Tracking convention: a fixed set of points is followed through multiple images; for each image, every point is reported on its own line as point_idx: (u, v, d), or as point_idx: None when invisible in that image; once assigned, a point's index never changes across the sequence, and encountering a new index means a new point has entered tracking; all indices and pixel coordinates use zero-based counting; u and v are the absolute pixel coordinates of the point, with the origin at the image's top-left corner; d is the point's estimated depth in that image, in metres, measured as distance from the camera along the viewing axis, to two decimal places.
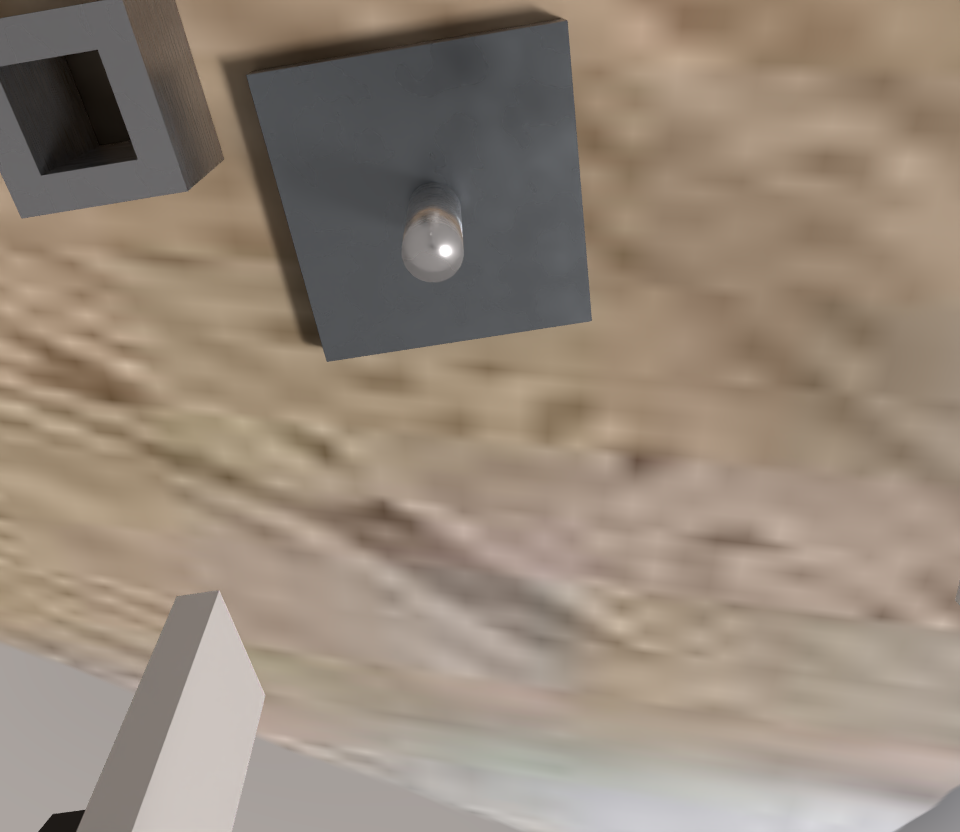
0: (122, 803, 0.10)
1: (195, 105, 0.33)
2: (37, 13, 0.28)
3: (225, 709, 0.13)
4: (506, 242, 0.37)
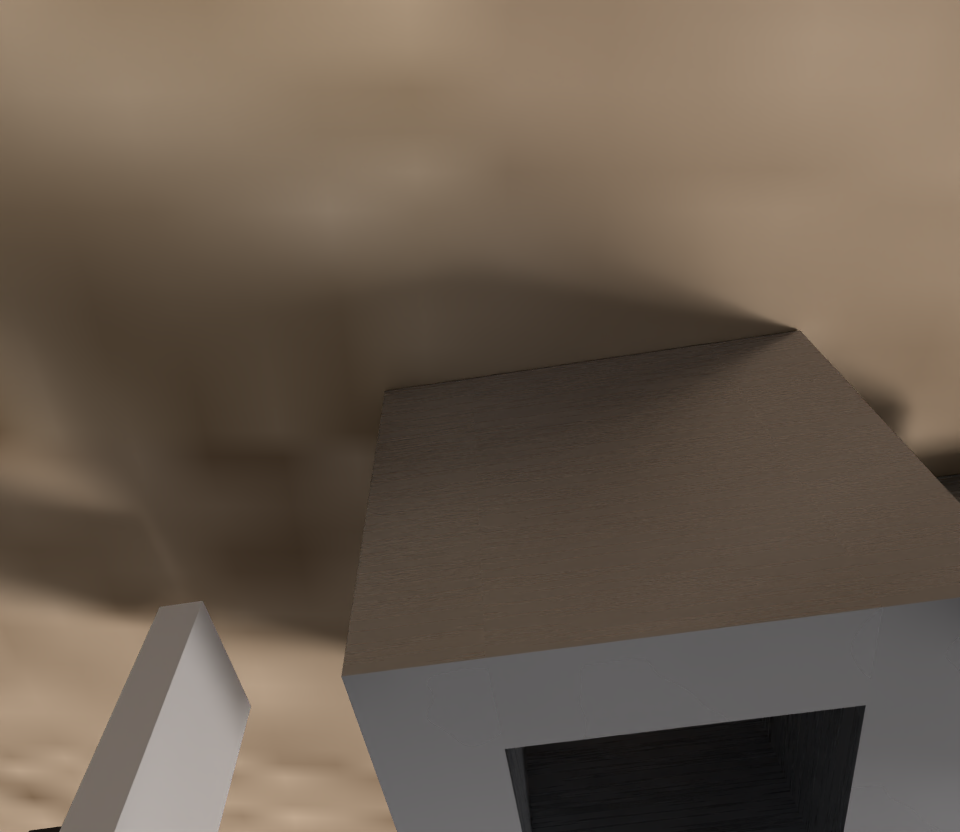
0: (98, 821, 0.10)
1: None
2: (716, 632, 0.08)
3: (208, 721, 0.12)
4: None
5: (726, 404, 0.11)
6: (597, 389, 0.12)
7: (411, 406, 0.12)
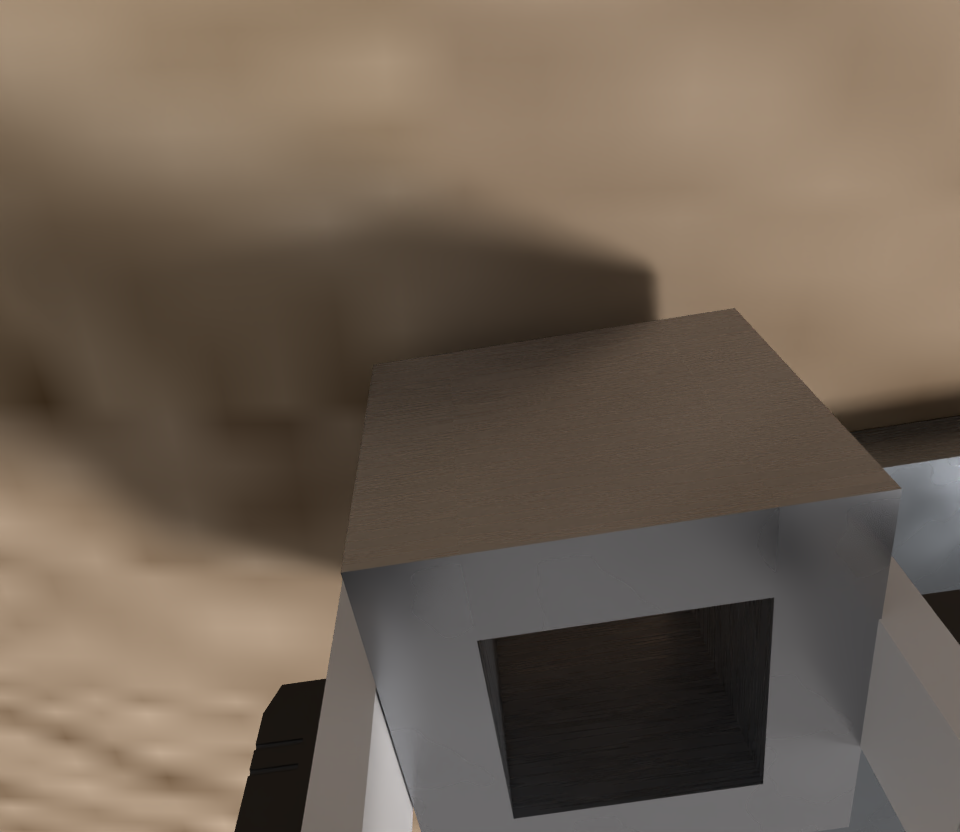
0: (360, 666, 0.11)
1: None
2: (646, 530, 0.09)
3: None
4: None
5: (667, 366, 0.13)
6: (558, 358, 0.14)
7: (397, 375, 0.14)
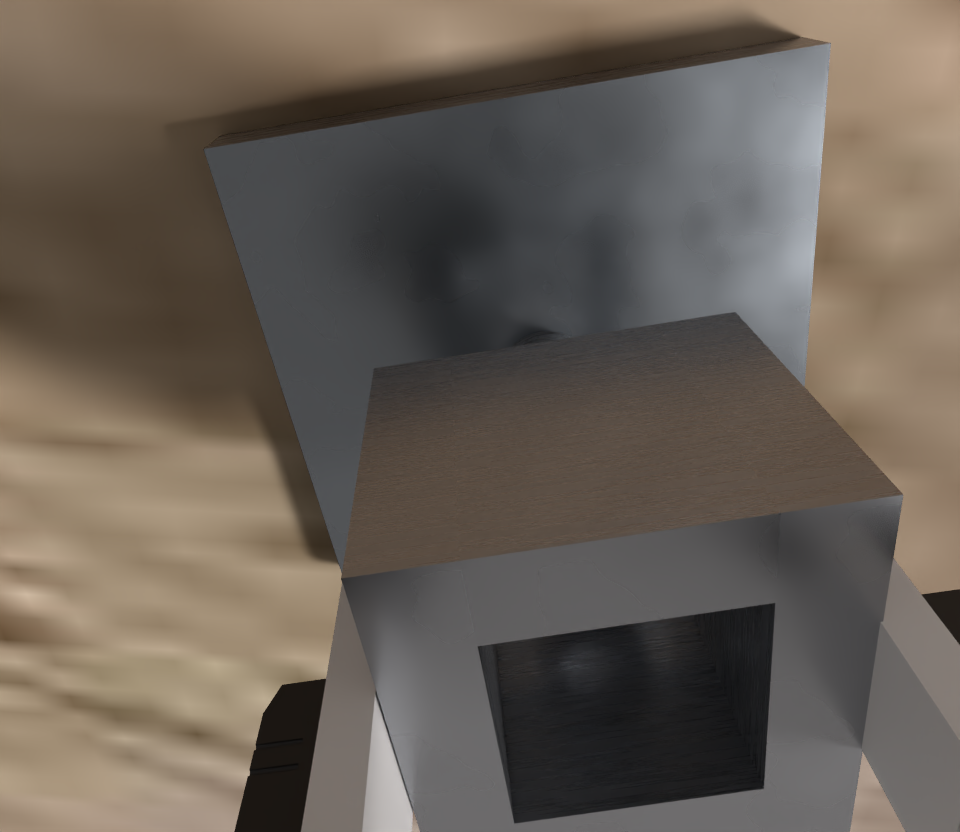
0: (359, 666, 0.11)
1: None
2: (647, 536, 0.09)
3: None
4: None
5: (668, 370, 0.13)
6: (559, 361, 0.14)
7: (398, 379, 0.14)
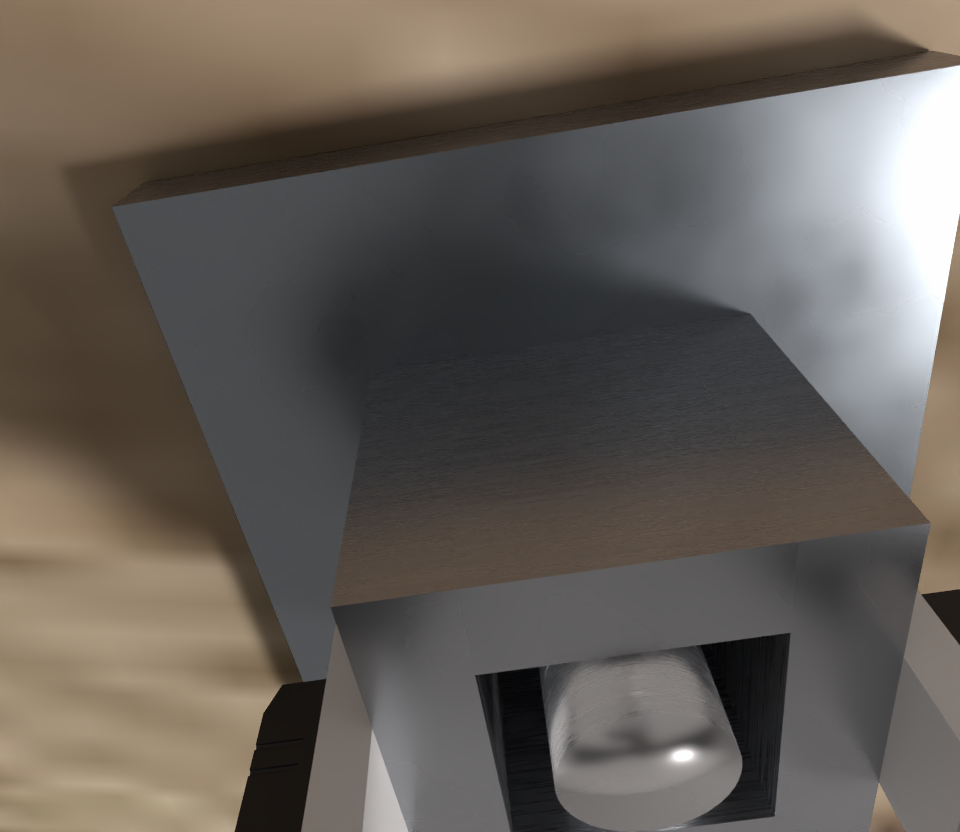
0: None
1: None
2: (655, 565, 0.09)
3: None
4: None
5: (678, 378, 0.12)
6: (564, 367, 0.13)
7: (395, 383, 0.14)
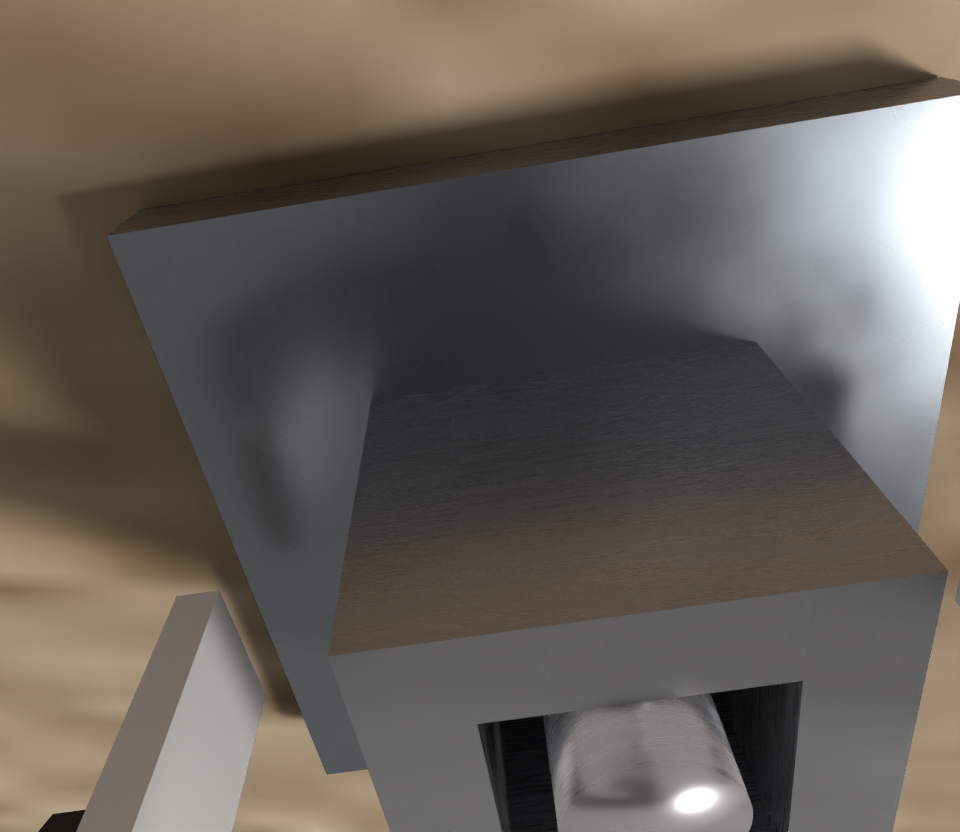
0: (122, 803, 0.10)
1: None
2: (663, 613, 0.09)
3: (225, 709, 0.13)
4: None
5: (685, 410, 0.12)
6: (568, 397, 0.13)
7: (395, 414, 0.13)
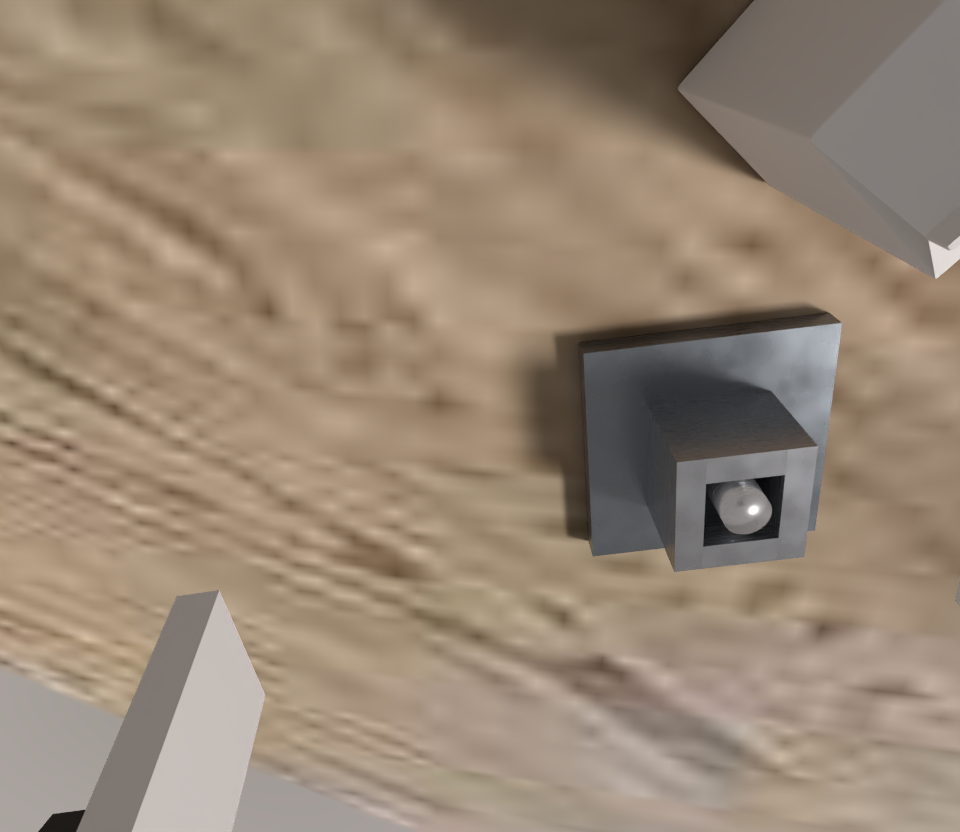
0: (122, 803, 0.10)
1: None
2: (754, 454, 0.38)
3: (225, 709, 0.13)
4: None
5: (751, 411, 0.41)
6: (714, 406, 0.42)
7: (659, 410, 0.42)
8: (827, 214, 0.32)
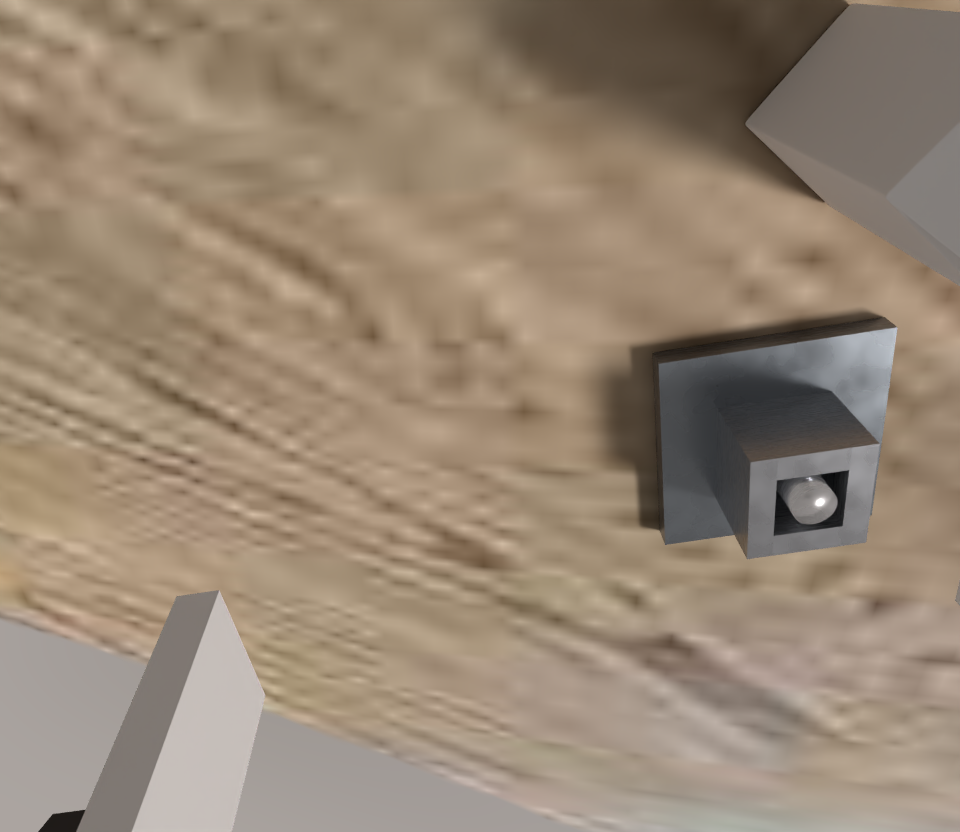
0: (122, 803, 0.10)
1: None
2: (821, 452, 0.42)
3: (225, 709, 0.13)
4: None
5: (815, 411, 0.45)
6: (779, 407, 0.46)
7: (728, 412, 0.46)
8: (889, 240, 0.36)
